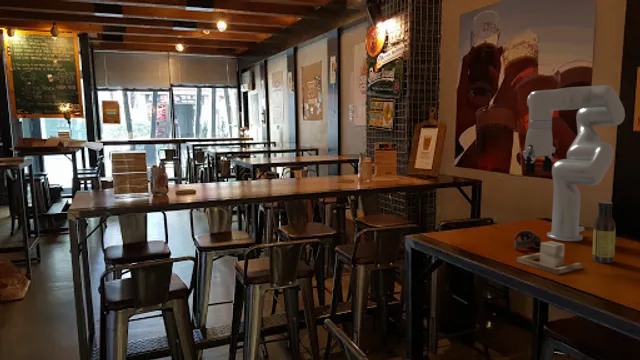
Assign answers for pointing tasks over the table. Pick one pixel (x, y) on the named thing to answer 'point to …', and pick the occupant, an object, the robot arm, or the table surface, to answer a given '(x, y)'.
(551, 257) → the birch block
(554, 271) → the oak bay
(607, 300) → the table surface
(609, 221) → the sauce bottle
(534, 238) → the broken clay pot rim
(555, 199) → the robot arm
